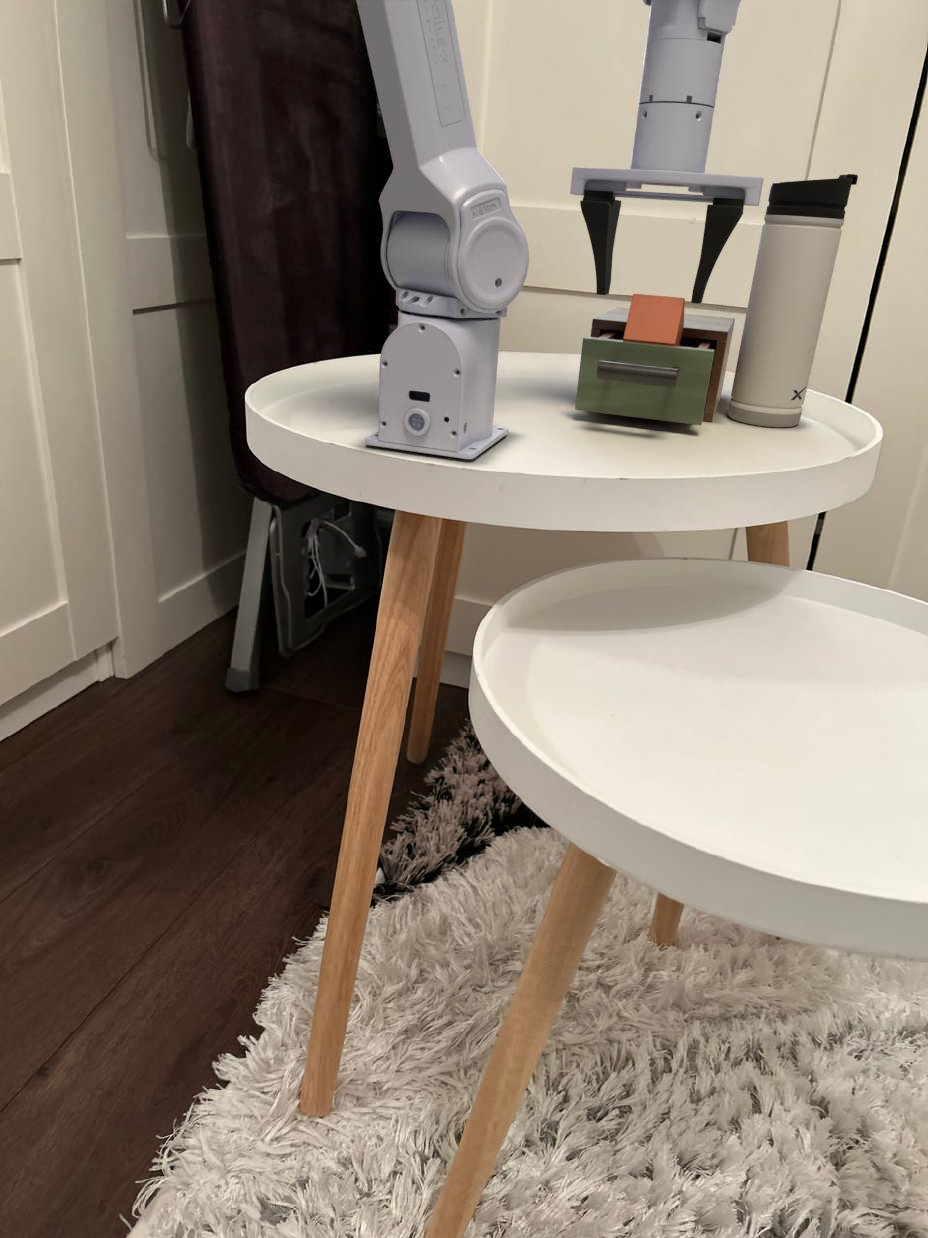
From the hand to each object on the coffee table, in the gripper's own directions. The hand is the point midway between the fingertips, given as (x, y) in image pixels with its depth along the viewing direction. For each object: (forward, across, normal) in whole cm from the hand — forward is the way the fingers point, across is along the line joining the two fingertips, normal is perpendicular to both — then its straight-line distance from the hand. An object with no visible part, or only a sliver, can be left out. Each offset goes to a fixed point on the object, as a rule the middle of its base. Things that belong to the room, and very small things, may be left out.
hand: (648, 298), depth 72 cm
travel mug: (+10, -11, -7) cm, 16 cm away
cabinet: (+10, -1, -10) cm, 14 cm away
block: (+4, -1, +1) cm, 4 cm away
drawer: (+9, -1, 0) cm, 9 cm away
